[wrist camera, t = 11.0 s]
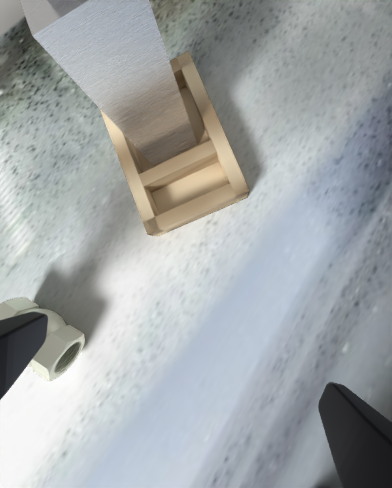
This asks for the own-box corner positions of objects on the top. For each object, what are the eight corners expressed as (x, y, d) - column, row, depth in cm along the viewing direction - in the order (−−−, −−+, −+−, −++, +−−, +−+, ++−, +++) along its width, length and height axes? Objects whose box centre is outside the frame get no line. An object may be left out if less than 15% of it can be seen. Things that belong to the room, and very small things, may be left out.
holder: (247, 197, 18) (249, 189, 16) (157, 236, 19) (147, 234, 17) (193, 73, 19) (188, 50, 17) (111, 117, 20) (96, 101, 18)
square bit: (197, 144, 18) (99, -143, 5) (153, 166, 19) (-40, -42, 6) (179, 102, 19) (44, -271, 5) (137, 124, 19) (-81, -165, 6)
